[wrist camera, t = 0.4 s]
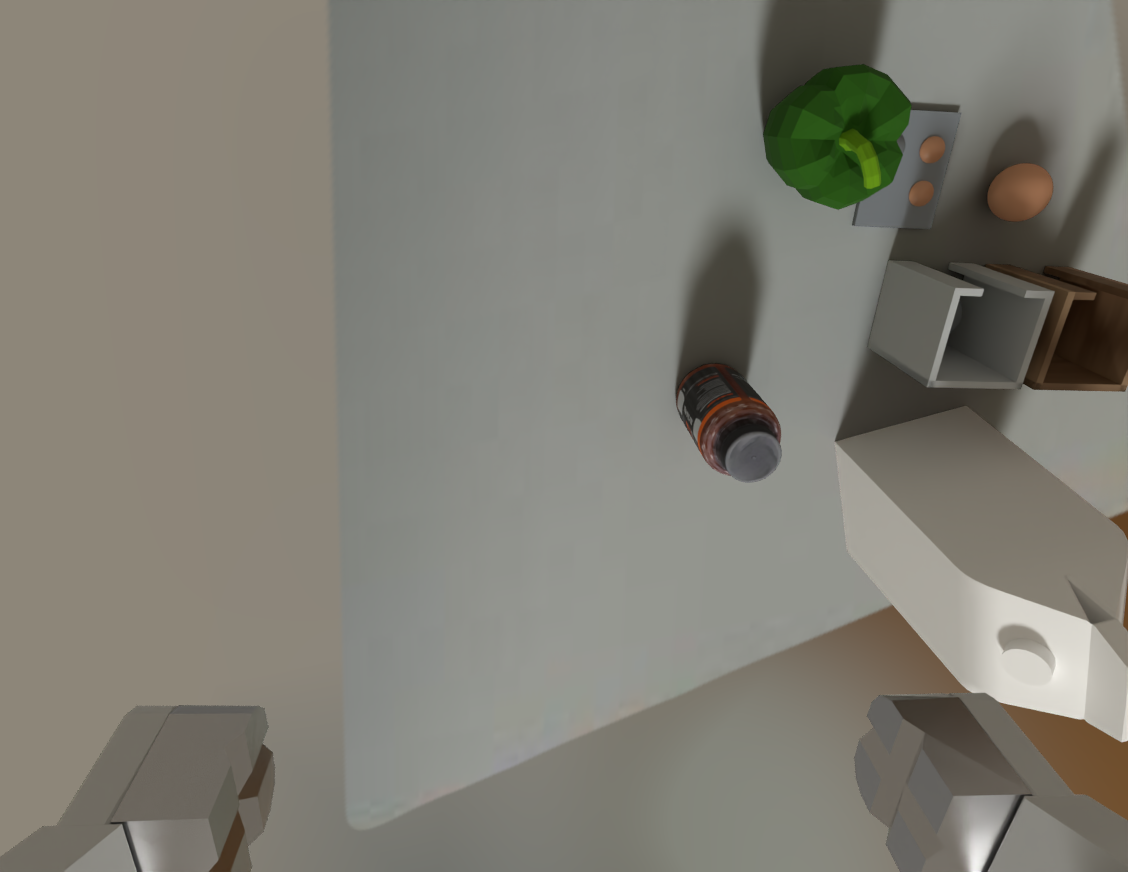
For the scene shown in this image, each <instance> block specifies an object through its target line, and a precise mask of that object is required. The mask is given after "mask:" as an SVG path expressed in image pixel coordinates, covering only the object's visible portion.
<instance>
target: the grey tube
mask: <svg viewBox="0 0 1128 872" xmlns="http://www.w3.org/2000/svg"><path fill="white" fill-rule="evenodd" d="M948 269H949V270H952V271H955V272H957V273H960V274H962V275H964V279H963V281H962V280H960V279H957V278H955V277H952V276H950V275H947V274H945V273H942V272H939V271H937V270H934V269H932V268H929V267H927V266H924V265H922V264H919V263H917V262H914V261H895V260H888V264H887V268H886V273H885V277H884V281H883V285H882V289H881V293H880V297H879V301H878V305H877V310H876V314H875V318H874V322H873V326H872V330H871V334H870V338H869V342H868V346H867V347H868V348H870V349H871V350H873V351H874V352H875V353H877V354H878V355H880V356H881V357H883V358H884V359H886V360H887V361H889V362H890V363H892V364H893V365H895V366H896V367H898V368H899V369H901V370H902V371H904V372H905V373H906V374H908V375H909V376H911V377H912V378H914V379H915V380H917V381H918V382H920V383H921V384H923V385H924V386H926V387H935V388H983V389H1021V387H1022V384H1023V381H1024V378H1025V375H1026V373H1027V370H1028V367H1029V364H1030V361H1031V358H1032V355H1033V353H1034V350H1035V347H1036V344H1037V341H1038V338H1039V335H1040V332H1041V330H1042V327H1043V324H1044V321H1045V318H1046V315H1047V312H1048V310H1049V307H1050V304H1051V301H1052V298H1053V295H1054V292H1055V291H1052V290H1049V289H1046V288H1043V287H1041V286H1038V285H1035V284H1032V283H1029V282H1026V281H1023V280H1020V279H1017V278H1015V277H1012V276H1009V275H1006V274H1003V273H1000V272H997V271H994V270H991V269H989V268H986V267H983V266H980V265H977V264H974V263H950V264H949V267H948ZM959 299H960V300H961V303H962V307H963V315H962V319H961V321H960V323H959V325H958V326H957V327H956V329H955V330H953V331H952V332H951V333H950V330H951V326H952V323H953V320H954V316H955V313H956V309H957V306H958V302H959Z"/></svg>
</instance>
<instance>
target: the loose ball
mask: <svg viewBox="0 0 1128 872" xmlns="http://www.w3.org/2000/svg"><path fill="white" fill-rule="evenodd" d="M1052 193H1053V182H1052V179H1051V176H1050V175H1049V173H1048V172H1047V171H1046V170H1045V169H1044V168H1042V167H1040V166H1038V165H1035V164H1030V163H1022V164H1016V165H1013V166H1011V167H1008V168H1007V169H1005V170H1003V171H1002V172H1001V173H999V174H998V175H997V176H996V177H995V179H994V180H993V181H992V183H991V185H990V187H989V190H988V196H987V200H988V205H989V207H990V209H991V211H992V212H993V213H994V214H995V215H996V216H997V217H999V218H1000V219H1003V220H1006V221H1012V222H1018V221H1024V220H1027V219H1030V218H1032V217H1034V216H1036V215H1037V214H1039V213H1040V212H1041V211H1042V210H1043V209H1044V208H1045V207H1046V206H1047V204H1048V203H1049V201H1050V199H1051V197H1052Z"/></svg>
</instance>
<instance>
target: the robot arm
mask: <svg viewBox="0 0 1128 872" xmlns="http://www.w3.org/2000/svg"><path fill="white" fill-rule="evenodd" d="M867 717H868V718H869V720H870V722H871V724H872V725H873V728H872V729H871V730H870V731H869V732H868V733H866V734H865V735H864V736H863V737H862V738H860V740H859V742H858V746H857V750H856V754H855V757H854V758H855V773H856V780H857V783H858V787H859V790H860V793H861V796H862V798H863V800H864V802H865V804H866V806H867V808H868V810H869V812H870V813H871V814H872V815H873V816H875V817H876V818H877V819H879V820H880V821H881V822H882V823H883V824H885V825H886V826H887V827H888V828H889V829H888V835H887V840H886V846H887V847H888V849H889V851H890V853H891V855H892V857H893V859H894V861H895V863H896V865H897V866H898V869H899V871H900V872H1128V821H1127V820H1126V819H1124V818H1122V817H1121V816H1119V815H1118V814H1116V813H1114V812H1113V811H1111V810H1110V809H1108V808H1106V807H1105V806H1103V805H1102V804H1100V803H1098V802H1097V801H1095V800H1094V799H1092V798H1090V797H1089V796H1087V795H1074V793H1073V792H1072V791H1071V790H1070V789H1069V788H1068V786H1067V785H1066V784H1065V783H1064V781H1063V780H1062V779H1061V778H1060V776H1059V775H1058V774H1057V773H1056V772H1055V770H1054V769H1053V768H1052V767H1051V766H1050V764H1049V763H1048V762H1047V761H1046V759H1045V758H1044V757H1043V756H1042V755H1041V754H1040V752H1039V751H1038V750H1037V749H1036V747H1035V746H1034V745H1033V744H1032V742H1031V741H1030V740H1029V739H1028V738H1027V737H1026V735H1025V734H1024V733H1023V732H1022V730H1021V729H1020V728H1019V727H1018V726H1017V724H1016V723H1015V722H1014V721H1013V719H1012V718H1011V717H1010V716H1009V715H1008V713H1007V712H1006V711H1005V710H1004V709H1003V707H1002V706H1001V705H1000V704H999V702H998V701H997V700H996V699H994V698H993V697H991V696H990V695H988V694H987V693H954V694H953V693H950V694H907V695H879V696H878V697H877V698H876V699H875V700H874V701H872V703H871V706H870V709H869V711H868V714H867ZM267 730H268V722H267V718H266V713H265V708H263V707H260V706H195V705H194V706H193V705H185V706H184V705H179V706H136V707H135V708H134V709H132V710H131V711H130V712H129V713H127V714H126V715H125V716H124V718H123V719H122V721H121V722H120V724H119V725H118V727H117V729H116V731H115V732H114V734H113V735H112V737H111V738H110V740H109V742H108V743H107V745H106V746H105V748H104V750H103V751H102V753H101V754H100V756H99V758H98V759H97V761H96V762H95V764H94V766H93V767H92V769H91V770H90V772H89V774H88V775H87V777H86V779H85V780H84V782H83V783H82V785H81V787H80V788H79V790H78V791H77V793H76V795H75V796H74V798H73V800H72V801H71V803H70V804H69V806H68V807H67V809H66V811H65V813H64V814H63V816H62V817H61V819H60V820H59V822H58V824H57V825H56V826H42V827H41V828H39V829H38V830H37V831H35V832H34V833H33V834H31V835H30V836H28V837H27V838H26V839H24V840H23V841H21V842H20V843H19V844H18V845H16V846H15V847H13V848H12V849H10V850H9V851H8V852H6V853H5V854H4V855H2V856H1V857H0V872H251V869H252V864H251V859H250V854H249V848H248V846H249V845H250V844H251V843H252V842H253V841H254V840H256V839H257V838H258V836H260V835H261V834H262V833H263V832H264V829H265V826H266V822H267V820H268V816H269V813H270V810H271V804H272V798H273V792H274V786H275V764H274V757H273V752H272V751H271V750H269V749H268V748H267V747H266V746H265V745H263V741H264V738H265V735H266V733H267Z"/></svg>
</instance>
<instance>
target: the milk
mask: <svg viewBox="0 0 1128 872" xmlns="http://www.w3.org/2000/svg"><path fill="white" fill-rule="evenodd" d="M835 449H836V458H837V467H838V475H839V484H840V493H841V502H842V511H843V520H844V528H845V537H846V546H847V552H848V553H849V554H850V555H851V557H852V558H853V559H854V560H855V561H856V562H857V564H858V565H859V566H860V567H861V568H862V569H863V571H864V572H865V573H866V574H867V575H868V576H869V578H870V579H871V580H872V581H873V582H874V583H875V585H876V586H877V587H878V588H879V589H880V590H881V592H882V593H883V594H884V595H885V596H886V597H887V599H888V600H889V601H890V602H891V603H892V604H893V606H894V607H895V608H896V609H897V610H898V611H899V612H900V614H901V615H902V616H903V617H904V618H905V619H906V621H908V623H909V624H910V625H911V626H912V628H913V629H914V630H915V631H916V632H917V633H918V634H919V636H920V637H921V638H922V639H923V640H924V642H925V643H926V644H927V645H928V646H929V647H930V649H931V650H932V651H933V652H934V653H935V654H936V656H937V657H938V658H939V659H940V660H941V661H942V663H943V664H944V665H945V666H946V667H947V668H948V670H949V671H950V672H951V673H952V674H953V675H954V676H955V678H956V679H957V680H958V681H959V682H960V683H961V684H962V685H963V686H964V687H965V688H966V689H967V690H969V691H971V692H972V693H987V694H988V695H990V696H991V697H993V698H994V699H996V700H997V701H998V702H1001V703H1005V704H1010V705H1015V706H1019V707H1024V708H1029V709H1033V710H1038V711H1043V712H1047V713H1052V714H1057V715H1062V716H1066V717H1071V718H1076V719H1085V720H1086V722H1088V723H1090V724H1091V725H1093V726H1095V727H1096V728H1098V729H1100V730H1102V731H1103V732H1105V733H1107V734H1108V735H1110V736H1112V737H1113V738H1115V739H1117V740H1119V741H1120V742H1124V741H1128V631H1127V630H1126V629H1125V628H1124V627H1123V619H1124V610H1125V600H1126V591H1127V581H1128V540H1127V538H1126V536H1125V534H1124V532H1123V531H1122V530H1121V529H1120V528H1119V527H1118V526H1117V525H1116V524H1115V523H1113V522H1112V521H1111V520H1109V519H1108V518H1107V517H1106V516H1104V515H1103V514H1102V513H1101V512H1099V511H1098V510H1097V509H1096V508H1094V507H1093V506H1092V505H1091V504H1089V503H1088V502H1087V501H1086V500H1084V499H1083V498H1082V497H1081V496H1079V495H1078V494H1077V493H1076V492H1074V491H1073V490H1072V489H1070V488H1069V487H1068V486H1067V485H1065V484H1064V483H1063V482H1062V481H1060V480H1059V479H1058V478H1057V477H1055V476H1054V475H1053V474H1052V473H1050V472H1049V471H1048V470H1047V469H1045V468H1044V467H1043V466H1042V465H1040V464H1039V463H1038V462H1037V461H1035V460H1034V459H1033V458H1031V457H1030V456H1029V455H1028V454H1026V453H1025V452H1024V451H1023V450H1021V449H1020V448H1019V447H1018V446H1016V445H1015V444H1014V443H1013V442H1011V441H1010V440H1009V439H1008V438H1006V437H1005V436H1004V435H1003V434H1001V433H1000V432H999V431H998V430H996V429H995V428H994V427H992V426H991V425H990V424H989V423H987V422H986V421H985V420H984V419H982V418H981V417H980V416H979V415H977V414H976V413H975V412H974V411H972V410H971V409H970V408H969V407H967V406H963V407H959V408H955V409H952V410H948V411H944V412H941V413H937V414H933V415H930V416H926V417H923V418H919V419H915V420H912V421H908V422H904V423H901V424H897V425H893V426H890V427H886V428H882V429H879V430H875V431H872V432H868V433H864V434H861V435H857V436H853V437H850V438H846V439H842V440H839V441H835Z"/></svg>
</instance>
